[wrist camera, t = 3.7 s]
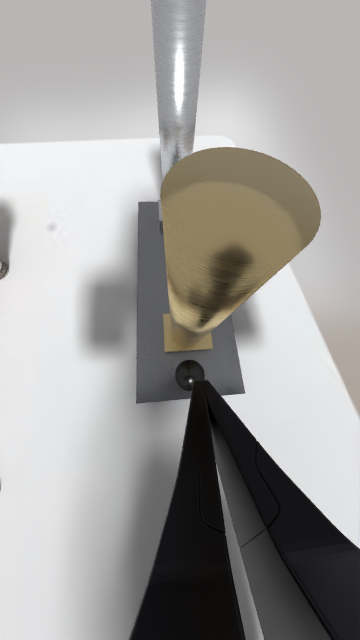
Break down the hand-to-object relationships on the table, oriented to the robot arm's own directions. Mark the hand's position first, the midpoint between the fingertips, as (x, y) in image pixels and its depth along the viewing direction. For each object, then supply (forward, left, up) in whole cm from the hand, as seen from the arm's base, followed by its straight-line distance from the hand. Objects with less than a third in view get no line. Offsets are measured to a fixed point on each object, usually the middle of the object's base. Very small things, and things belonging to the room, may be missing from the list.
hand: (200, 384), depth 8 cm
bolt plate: (+7, -7, -7) cm, 12 cm away
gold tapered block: (+3, -3, -5) cm, 7 cm away
